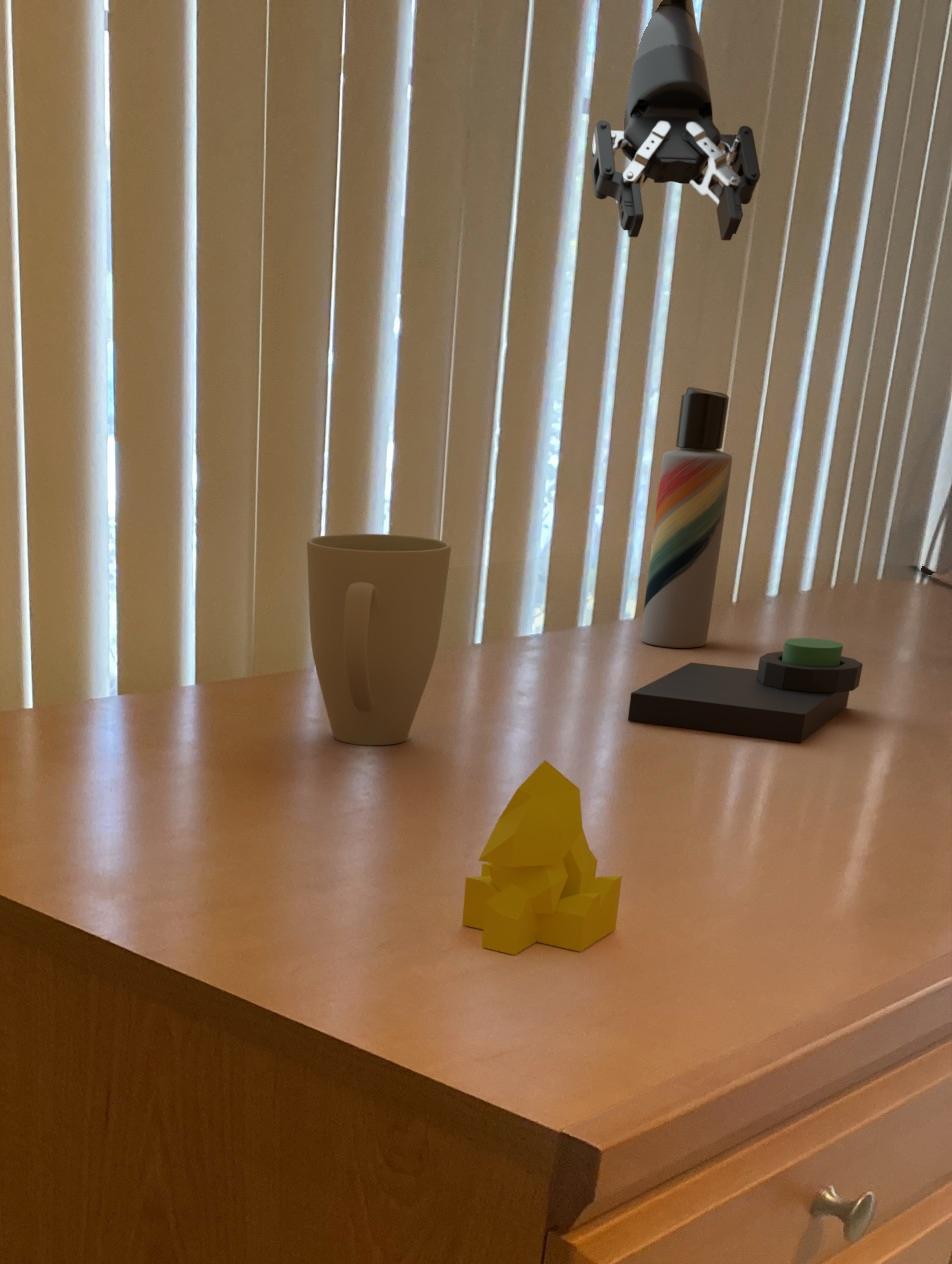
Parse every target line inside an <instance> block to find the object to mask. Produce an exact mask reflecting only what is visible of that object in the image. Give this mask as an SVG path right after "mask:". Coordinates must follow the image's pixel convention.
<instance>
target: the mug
mask: <svg viewBox="0 0 952 1264" xmlns="http://www.w3.org/2000/svg"><path fill="white" fill-rule="evenodd" d="M306 553H307V554H306V555H307V556H306V557H307V559H306V560H307V583H308V587H307V588H308V607H309V608H308V614H309V633H310V644H311V651H312V656H313V661H314V662H313V663H314V666H315V672H316V675H317V678H318V682H319V686H320V690H321V694H322V698H323V702H324V706H325V709H326V713H327V717H328V721H329V725H330V729H331V733H332V736H333V738H334V739H335V740H337V741H339V742H343V743H347V744H352V745H360V746H388V745H389V746H390V745H396V744H397V745H398V744H400V743H403V742H405V741H406V740H407V738H408V736H409V734H410V730H411V728H412V725H413V722H414V719H415V716H416V714H417V711H418V708H419V706H420V703H421V700H422V697H423V694H424V692H425V689H426V686H427V684H428V681H429V678H430V675H431V672H432V669H433V666H434V663H435V659H436V655H437V651H438V647H439V640H440V636H441V635H440V634H441V629H442V628H441V627H442V621H443V613H444V607H445V606H444V605H445V599H446V598H445V597H446V590H447V583H448V574H449V567H450V559H451V553H452V545H451V543H450V542H447V541H444V540H440V539H435V538H430V537H423V536H414V535H413V536H412V535H401V534H385V533H384V534H383V533H343V534H340V533H339V534H327V535H320V536H314V537H311V538H308V539H307V540H306Z"/></svg>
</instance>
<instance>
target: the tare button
mask: <svg viewBox="0 0 952 1264" xmlns="http://www.w3.org/2000/svg"><path fill="white" fill-rule="evenodd" d="M843 648H844V644H843V643H841V642H838V641H835V640H829V639H823V638H811V637H797V638H794V637H793V638H789V639H788V638H787V639H785V640H784V645H783V651H782V652H783V656H782V661H783V662H788V663H792V664H797V665H806V666H839V665H840V660H841V656H842V655H843V654H842V653H843Z"/></svg>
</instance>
